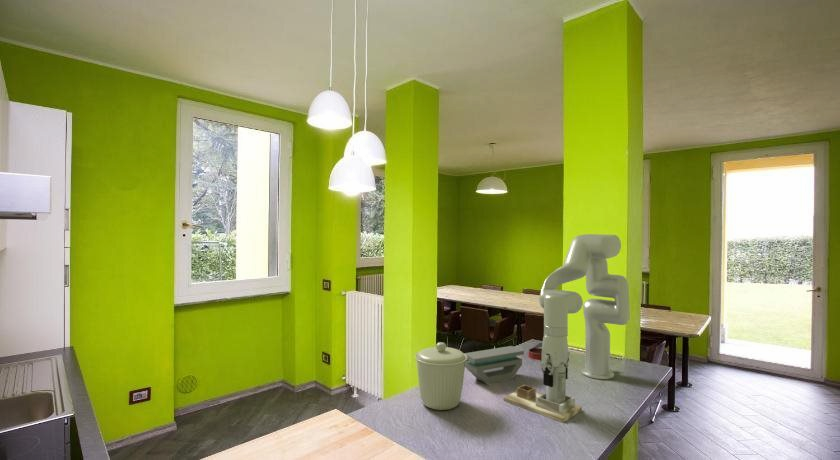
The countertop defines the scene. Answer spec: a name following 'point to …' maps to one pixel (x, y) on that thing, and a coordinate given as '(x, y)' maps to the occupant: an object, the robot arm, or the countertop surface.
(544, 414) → the wooden organizer tray
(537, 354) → the canned food
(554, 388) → the energy drink can
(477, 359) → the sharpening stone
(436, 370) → the canister
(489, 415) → the countertop surface
